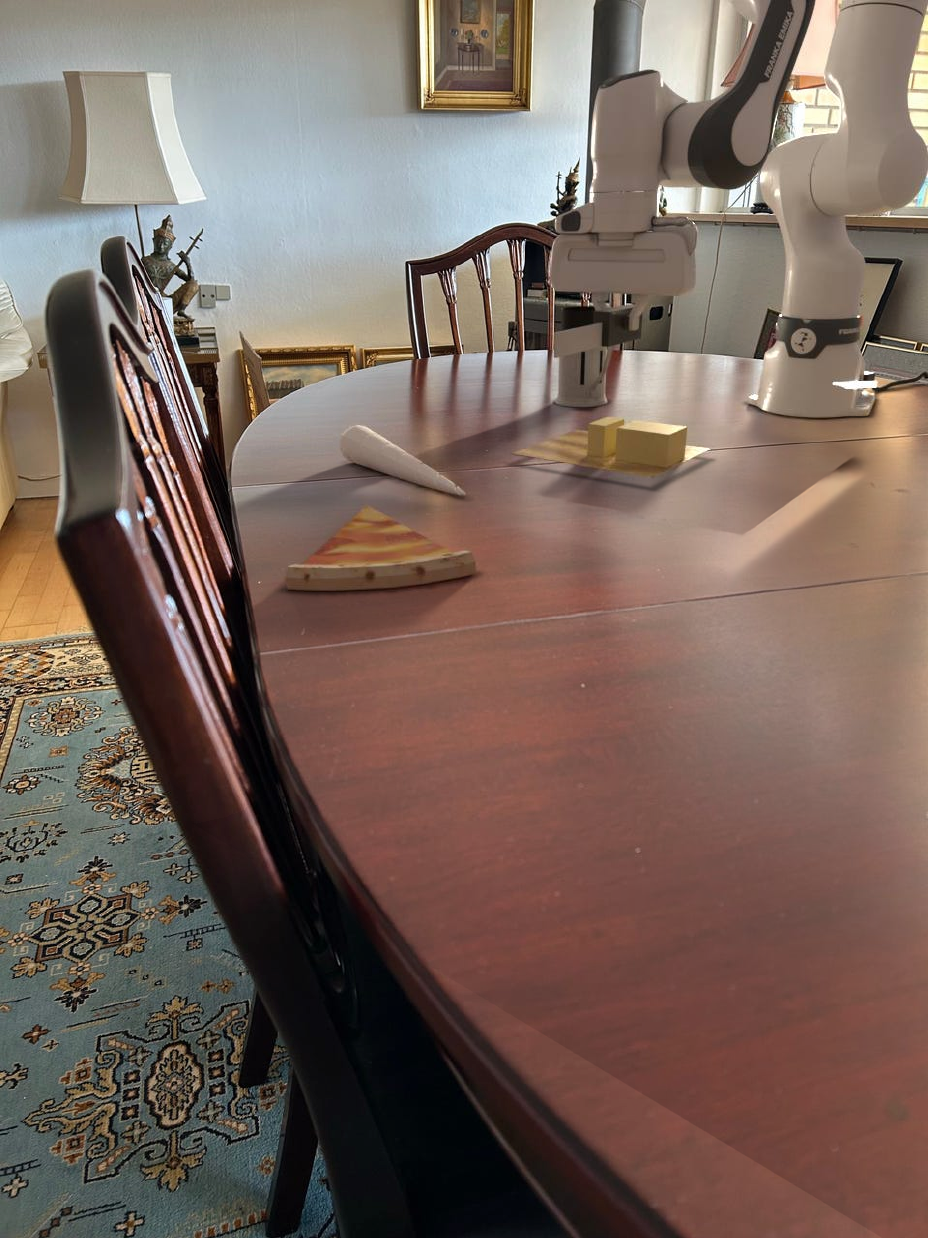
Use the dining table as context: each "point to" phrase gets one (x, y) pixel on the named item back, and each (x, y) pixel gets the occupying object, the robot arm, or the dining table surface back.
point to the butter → (650, 443)
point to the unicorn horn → (391, 459)
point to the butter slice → (603, 436)
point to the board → (575, 452)
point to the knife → (597, 332)
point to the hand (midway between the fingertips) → (618, 328)
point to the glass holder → (582, 365)
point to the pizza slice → (377, 558)
